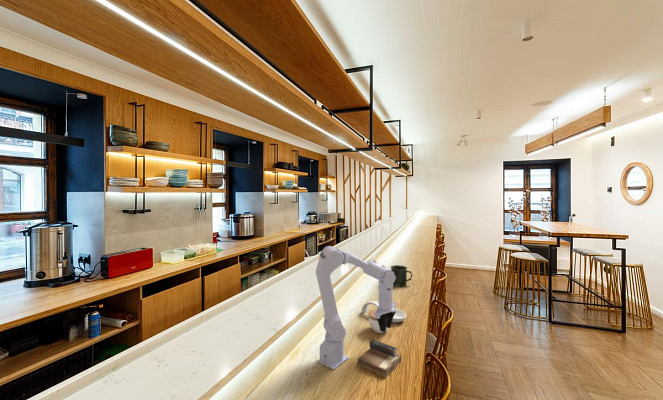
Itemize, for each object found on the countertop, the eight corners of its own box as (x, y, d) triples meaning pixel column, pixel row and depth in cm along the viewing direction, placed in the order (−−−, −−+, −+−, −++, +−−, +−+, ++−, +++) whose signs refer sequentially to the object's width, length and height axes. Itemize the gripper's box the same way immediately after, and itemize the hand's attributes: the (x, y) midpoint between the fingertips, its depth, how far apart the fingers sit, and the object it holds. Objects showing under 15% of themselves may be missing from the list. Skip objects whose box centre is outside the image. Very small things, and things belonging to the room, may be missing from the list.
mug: (391, 281, 207) (391, 264, 207) (412, 283, 203) (412, 266, 202) (389, 286, 197) (389, 268, 196) (411, 288, 192) (412, 270, 192)
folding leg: (397, 354, 112) (397, 348, 111) (394, 357, 110) (394, 351, 110) (372, 344, 119) (372, 338, 119) (369, 347, 117) (369, 341, 117)
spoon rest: (409, 318, 149) (409, 304, 148) (401, 328, 139) (401, 313, 139) (367, 308, 161) (367, 295, 161) (357, 316, 152) (357, 303, 151)
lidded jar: (373, 337, 130) (373, 316, 130) (364, 326, 141) (364, 307, 140) (395, 333, 133) (395, 313, 133) (385, 323, 143) (385, 304, 143)
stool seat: (386, 377, 102) (386, 370, 102) (357, 364, 110) (357, 358, 110) (401, 361, 112) (401, 355, 112) (374, 350, 119) (374, 344, 119)
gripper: (385, 305, 111) (385, 339, 112) (402, 294, 123) (402, 325, 123) (369, 300, 116) (369, 333, 116) (387, 290, 127) (387, 320, 128)
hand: (385, 329), depth 120 cm, fingers open, 4 cm apart
